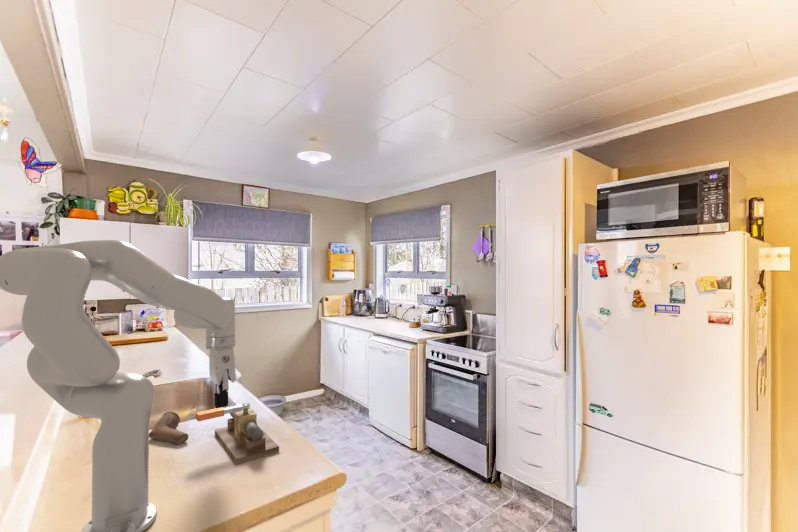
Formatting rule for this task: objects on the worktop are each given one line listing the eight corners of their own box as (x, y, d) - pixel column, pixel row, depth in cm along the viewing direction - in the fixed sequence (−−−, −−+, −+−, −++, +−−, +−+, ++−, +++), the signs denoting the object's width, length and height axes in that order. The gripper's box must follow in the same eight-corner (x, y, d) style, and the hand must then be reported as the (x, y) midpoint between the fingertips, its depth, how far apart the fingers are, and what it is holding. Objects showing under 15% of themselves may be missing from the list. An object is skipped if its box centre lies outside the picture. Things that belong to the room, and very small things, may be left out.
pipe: (176, 432, 113) (204, 415, 122) (137, 424, 119) (166, 408, 128) (179, 452, 114) (206, 433, 123) (140, 443, 120) (169, 425, 129)
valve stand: (279, 451, 111) (279, 415, 111) (236, 464, 104) (236, 426, 104) (252, 424, 130) (252, 394, 130) (214, 434, 123) (215, 401, 123)
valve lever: (251, 409, 117) (251, 403, 117) (197, 421, 108) (198, 415, 108) (248, 407, 119) (248, 401, 119) (196, 418, 110) (196, 412, 110)
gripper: (242, 344, 103) (243, 411, 104) (227, 335, 115) (228, 396, 115) (212, 348, 99) (213, 418, 99) (200, 339, 110) (201, 401, 111)
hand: (221, 406), depth 107 cm, fingers closed
